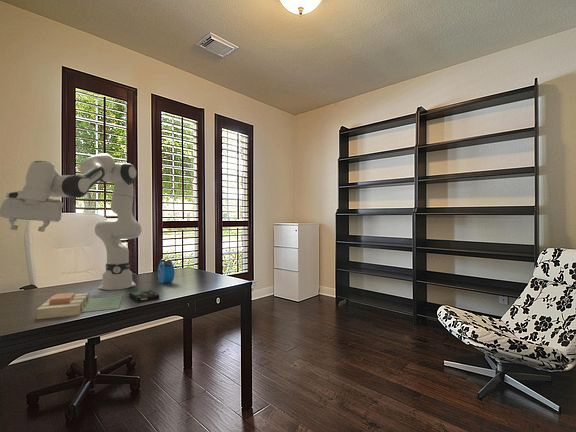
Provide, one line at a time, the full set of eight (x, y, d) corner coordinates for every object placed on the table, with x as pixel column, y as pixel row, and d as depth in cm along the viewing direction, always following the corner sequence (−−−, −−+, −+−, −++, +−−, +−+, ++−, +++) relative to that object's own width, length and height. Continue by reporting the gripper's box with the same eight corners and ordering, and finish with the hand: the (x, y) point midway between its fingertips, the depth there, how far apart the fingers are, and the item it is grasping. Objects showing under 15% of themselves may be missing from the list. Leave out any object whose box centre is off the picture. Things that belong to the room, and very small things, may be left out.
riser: (52, 304, 137) (52, 295, 137) (88, 301, 143) (88, 292, 143) (36, 319, 117) (36, 309, 117) (79, 314, 123) (79, 305, 123)
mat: (89, 299, 146) (89, 298, 146) (122, 296, 152) (122, 295, 152) (80, 312, 126) (80, 311, 126) (118, 308, 132) (118, 307, 132)
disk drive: (159, 300, 149) (149, 294, 160) (159, 294, 149) (150, 288, 160) (137, 303, 142) (128, 297, 153) (137, 298, 142) (128, 291, 153)
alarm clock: (174, 284, 182) (174, 259, 182) (164, 285, 178) (164, 260, 178) (167, 280, 192) (167, 257, 192) (157, 281, 188) (157, 258, 188)
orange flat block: (55, 298, 133) (56, 294, 133) (74, 296, 136) (74, 292, 136) (49, 304, 124) (49, 299, 124) (69, 302, 127) (69, 297, 127)
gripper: (67, 202, 128) (60, 233, 125) (11, 197, 123) (3, 230, 120) (60, 198, 122) (53, 231, 119) (1, 193, 117) (-8, 227, 114)
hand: (27, 230), depth 119 cm, fingers open, 8 cm apart
